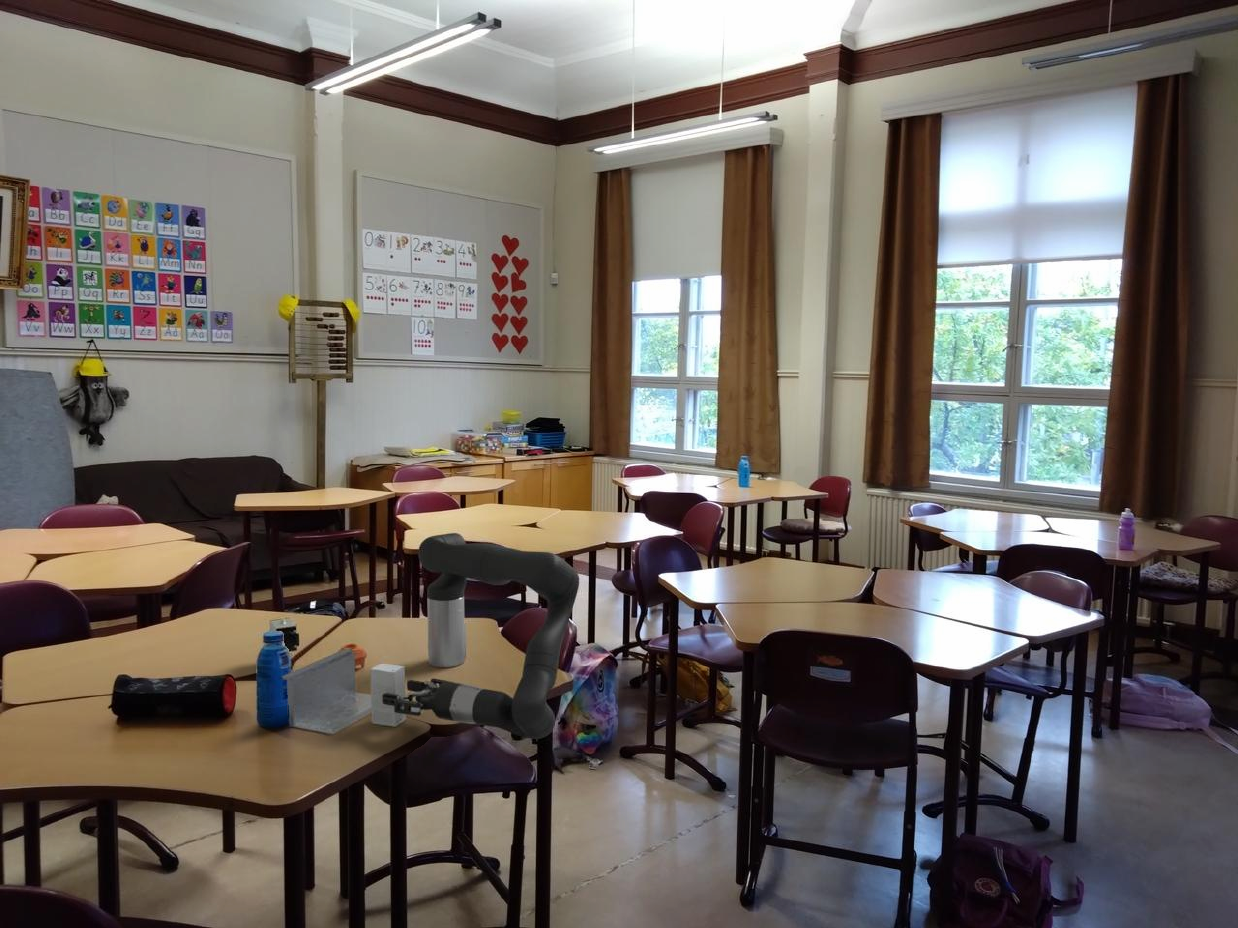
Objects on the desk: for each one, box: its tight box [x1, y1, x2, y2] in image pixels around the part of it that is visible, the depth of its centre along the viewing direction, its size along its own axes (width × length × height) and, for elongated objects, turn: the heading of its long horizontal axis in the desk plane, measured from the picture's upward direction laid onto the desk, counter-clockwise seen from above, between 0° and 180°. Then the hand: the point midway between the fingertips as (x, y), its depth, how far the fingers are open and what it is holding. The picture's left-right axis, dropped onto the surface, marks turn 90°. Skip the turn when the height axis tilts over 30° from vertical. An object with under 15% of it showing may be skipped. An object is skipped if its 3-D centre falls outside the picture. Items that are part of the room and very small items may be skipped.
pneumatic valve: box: [269, 617, 300, 657], centre depth 223 cm, size 6×12×12 cm, turn 32°
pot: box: [337, 643, 368, 669], centre depth 221 cm, size 8×8×7 cm
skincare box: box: [369, 663, 407, 727], centre depth 188 cm, size 6×4×12 cm
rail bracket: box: [281, 649, 371, 735], centre depth 192 cm, size 20×13×11 cm, turn 158°
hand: (395, 691), depth 187 cm, fingers open, 8 cm apart
